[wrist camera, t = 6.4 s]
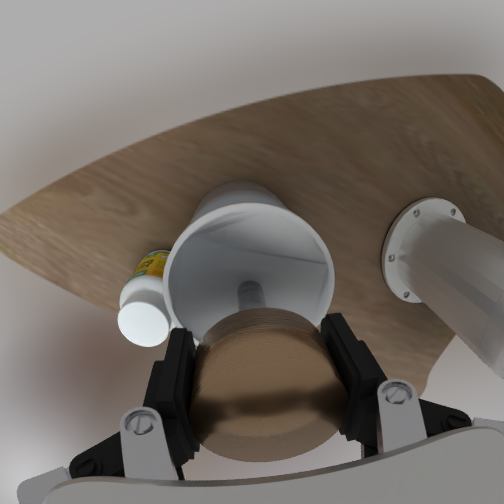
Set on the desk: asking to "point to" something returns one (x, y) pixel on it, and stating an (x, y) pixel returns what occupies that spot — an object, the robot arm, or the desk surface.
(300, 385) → the plunger
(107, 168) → the desk surface
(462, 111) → the desk surface
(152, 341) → the supplement bottle
